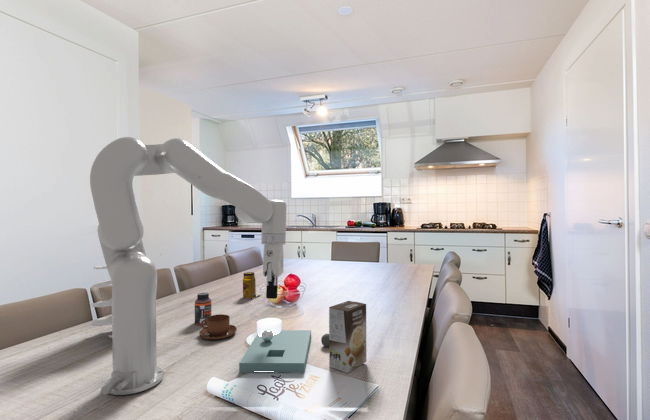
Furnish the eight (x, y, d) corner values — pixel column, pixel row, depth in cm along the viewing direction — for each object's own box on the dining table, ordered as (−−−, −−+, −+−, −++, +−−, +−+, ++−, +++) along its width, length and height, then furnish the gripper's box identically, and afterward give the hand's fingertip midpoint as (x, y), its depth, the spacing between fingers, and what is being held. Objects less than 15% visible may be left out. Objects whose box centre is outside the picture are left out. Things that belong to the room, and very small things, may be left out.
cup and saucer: (196, 344, 108) (196, 325, 108) (202, 331, 120) (202, 313, 120) (235, 341, 110) (235, 322, 110) (237, 328, 122) (237, 311, 122)
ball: (263, 335, 105) (268, 326, 105) (271, 342, 104) (277, 333, 104) (257, 338, 102) (263, 328, 102) (265, 345, 101) (272, 336, 100)
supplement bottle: (206, 326, 124) (205, 295, 124) (191, 326, 125) (191, 295, 125) (214, 321, 129) (214, 291, 129) (200, 320, 131) (200, 291, 131)
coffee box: (348, 374, 87) (347, 311, 87) (328, 367, 91) (327, 307, 91) (367, 361, 94) (366, 303, 94) (348, 355, 98) (347, 299, 98)
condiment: (239, 298, 163) (238, 273, 163) (248, 294, 171) (248, 270, 171) (252, 299, 161) (252, 274, 161) (261, 295, 169) (261, 271, 169)
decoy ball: (333, 348, 103) (333, 336, 103) (320, 348, 103) (320, 336, 103) (333, 344, 106) (333, 331, 106) (321, 344, 107) (321, 331, 107)
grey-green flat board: (304, 372, 88) (304, 363, 88) (239, 372, 88) (239, 363, 88) (311, 337, 112) (311, 330, 112) (259, 337, 112) (259, 330, 112)
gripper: (281, 241, 99) (279, 304, 99) (289, 238, 114) (287, 293, 114) (255, 240, 100) (253, 303, 99) (266, 237, 115) (265, 292, 114)
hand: (271, 297), depth 107 cm, fingers closed
